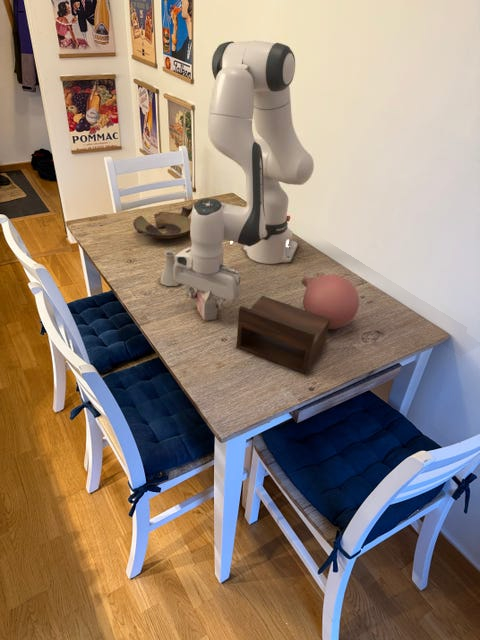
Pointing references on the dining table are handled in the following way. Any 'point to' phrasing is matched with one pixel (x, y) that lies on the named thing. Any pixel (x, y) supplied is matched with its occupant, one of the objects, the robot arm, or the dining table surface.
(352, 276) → the dining table surface
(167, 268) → the flask
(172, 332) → the dining table surface
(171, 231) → the broken brown bowl
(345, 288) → the balloon
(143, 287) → the dining table surface
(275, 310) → the rack
